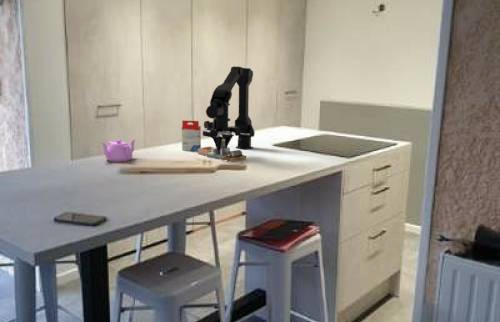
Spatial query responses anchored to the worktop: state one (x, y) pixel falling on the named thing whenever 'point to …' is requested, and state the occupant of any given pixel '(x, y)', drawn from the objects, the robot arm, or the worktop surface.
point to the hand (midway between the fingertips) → (221, 150)
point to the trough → (234, 158)
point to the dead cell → (222, 144)
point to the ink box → (191, 136)
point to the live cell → (234, 154)
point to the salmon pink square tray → (204, 150)
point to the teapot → (118, 151)
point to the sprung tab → (224, 151)
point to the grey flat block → (214, 154)
